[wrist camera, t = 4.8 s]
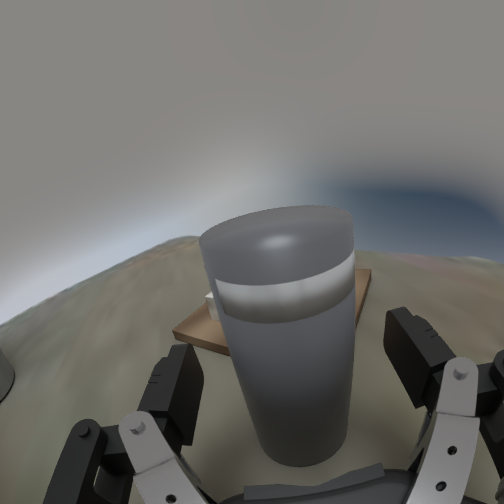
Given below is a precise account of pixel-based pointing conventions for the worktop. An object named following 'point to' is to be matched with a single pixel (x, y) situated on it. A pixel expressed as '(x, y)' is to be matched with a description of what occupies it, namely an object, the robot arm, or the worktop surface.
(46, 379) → the worktop surface
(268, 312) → the dark grey cylinder
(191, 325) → the mount board
